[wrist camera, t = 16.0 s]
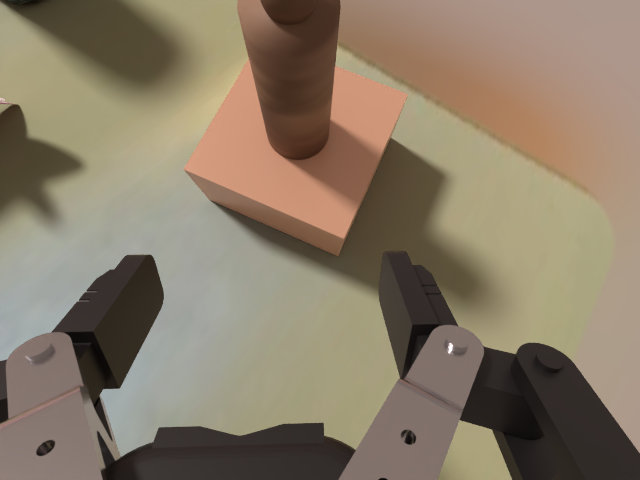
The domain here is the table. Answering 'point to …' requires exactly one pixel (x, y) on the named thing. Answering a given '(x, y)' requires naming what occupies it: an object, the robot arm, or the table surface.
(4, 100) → the lily
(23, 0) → the coffee jar
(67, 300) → the table surface
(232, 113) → the riser block
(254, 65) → the pepper mill
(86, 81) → the table surface
